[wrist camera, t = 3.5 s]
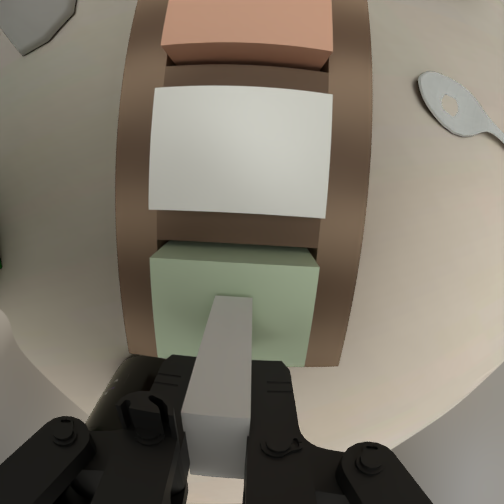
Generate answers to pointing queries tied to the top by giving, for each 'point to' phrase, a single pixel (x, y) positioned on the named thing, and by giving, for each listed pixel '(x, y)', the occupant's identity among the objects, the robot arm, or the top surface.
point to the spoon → (469, 110)
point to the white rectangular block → (240, 150)
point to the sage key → (234, 295)
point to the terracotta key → (249, 32)
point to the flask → (33, 21)
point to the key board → (244, 224)
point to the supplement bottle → (123, 390)
